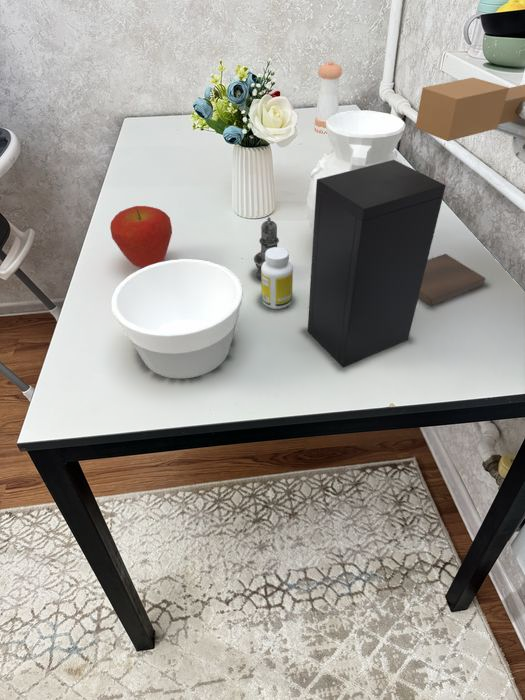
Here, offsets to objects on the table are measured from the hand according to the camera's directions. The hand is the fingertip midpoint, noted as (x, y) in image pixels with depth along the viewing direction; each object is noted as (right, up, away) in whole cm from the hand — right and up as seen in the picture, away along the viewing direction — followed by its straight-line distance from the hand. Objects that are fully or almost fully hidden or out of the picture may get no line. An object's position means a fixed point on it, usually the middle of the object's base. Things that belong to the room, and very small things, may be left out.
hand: (506, 102), depth 67 cm
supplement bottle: (-31, -25, +21) cm, 45 cm away
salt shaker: (-14, +35, +87) cm, 95 cm away
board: (-1, -21, +24) cm, 32 cm away
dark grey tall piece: (-32, -20, +27) cm, 46 cm away
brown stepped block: (-3, -3, 0) cm, 4 cm away
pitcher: (-16, -13, +34) cm, 39 cm away
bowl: (-46, -34, +11) cm, 58 cm away
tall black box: (-18, -32, +13) cm, 39 cm away
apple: (-56, -17, +30) cm, 66 cm away
